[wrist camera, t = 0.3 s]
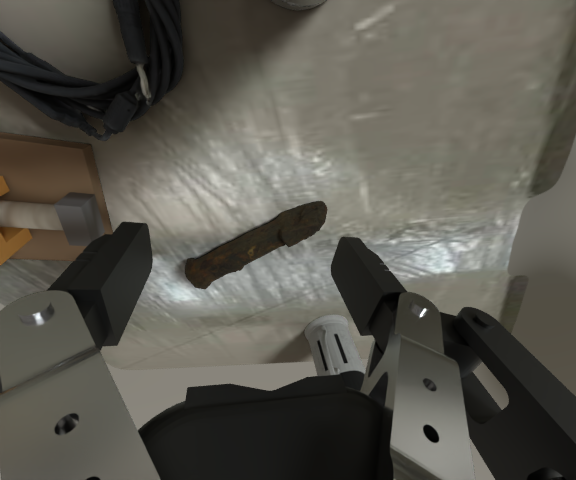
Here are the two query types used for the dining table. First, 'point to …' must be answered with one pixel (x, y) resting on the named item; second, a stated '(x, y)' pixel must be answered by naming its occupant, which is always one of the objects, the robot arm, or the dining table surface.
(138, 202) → the dining table surface
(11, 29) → the dining table surface
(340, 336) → the glass holder
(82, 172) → the wooden base plate
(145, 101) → the cable
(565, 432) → the robot arm
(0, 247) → the notched block
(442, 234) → the dining table surface
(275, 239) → the dark brown tapered rod
